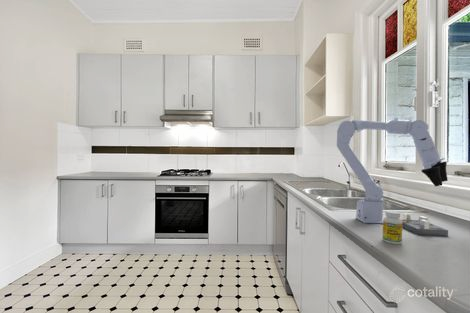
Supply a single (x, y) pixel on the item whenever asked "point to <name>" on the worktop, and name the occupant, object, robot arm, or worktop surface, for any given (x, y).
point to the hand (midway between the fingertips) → (441, 183)
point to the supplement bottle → (392, 228)
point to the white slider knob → (422, 218)
